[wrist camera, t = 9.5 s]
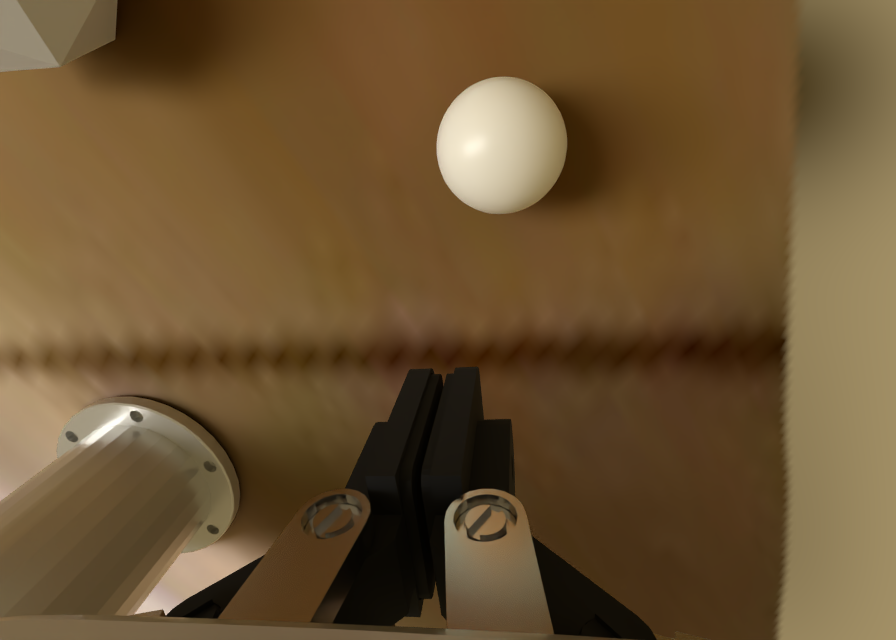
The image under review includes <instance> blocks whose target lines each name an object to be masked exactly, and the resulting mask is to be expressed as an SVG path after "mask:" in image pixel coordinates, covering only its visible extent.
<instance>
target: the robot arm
mask: <svg viewBox="0 0 896 640" xmlns="http://www.w3.org/2000/svg"><path fill="white" fill-rule="evenodd" d="M239 502H240V489H239V481H238V478H237V475H236V472H235V469H234V466H233V464H232V463H231V461H230V459H229V457H228V456H227V454H226V452H225V451H224V449H223V448H222V447H221V446H220V444H219V443H218V442H217V441H216V439H215V438H214V437H213V436H212V435H211V434H210V433H209V432H207V431H206V430H205V429H204V428H203V427H202V426H201V425H200V424H198V423H197V422H195V421H194V420H193V419H191V418H190V417H188V416H187V415H185V414H184V413H182V412H180V411H178V410H176V409H174V408H172V407H170V406H168V405H165V404H162V403H159V402H156V401H153V400H150V399H144V398H138V397H132V396H127V397H111V398H106V399H102V400H99V401H97V402H95V403H92V404H90V405H88V406H87V407H85V408H84V409H82V410H81V411H80V412H78V413H77V414H75V415H74V416H72V417H71V419H70V420H69V421H68V422H67V423H66V424H65V425H64V427H63V429H62V431H61V433H60V436H59V438H58V444H57V459H56V460H55V461H53V462H52V463H51V464H49V465H48V466H47V467H45V468H44V469H43V470H41V471H40V472H39V473H37V474H36V475H35V476H33V477H32V478H31V479H29V480H28V481H27V482H25V483H24V484H23V485H21V486H20V487H19V488H17V489H16V490H15V491H13V492H12V493H11V494H9V495H8V496H7V497H5V498H4V499H3V500H1V501H0V640H709V639H705V638H701V637H697V636H693V635H689V634H685V633H681V632H677V631H675V637H674V639H673V638H669V637H665V636H661V635H657V634H653V632H652V631H651V629H650V628H649V627H648V626H647V625H646V624H645V623H644V622H643V621H642V620H641V619H640V618H639V617H638V616H637V615H636V614H634V613H633V612H632V611H630V610H629V609H628V608H626V607H625V606H624V605H622V604H621V603H620V602H618V601H617V600H616V599H614V598H613V597H612V596H610V595H609V594H608V593H606V592H605V591H604V590H603V589H601V588H600V587H599V586H597V585H596V584H595V583H593V582H592V581H591V580H589V579H588V578H587V577H585V576H584V575H583V574H581V573H580V572H579V571H577V570H576V569H575V568H573V567H572V566H571V565H570V564H568V563H567V562H566V561H564V560H563V559H562V558H560V557H559V556H558V555H556V554H555V553H554V552H552V551H551V550H550V549H548V548H547V547H546V546H544V545H543V544H542V543H540V542H539V541H538V540H537V539H535V538H534V537H533V536H531V532H530V528H529V524H528V519H527V515H526V512H525V509H524V507H523V505H522V503H521V502H520V501H519V500H518V499H517V498H516V497H515V472H514V450H513V436H512V424H511V419H496V420H484V416H483V406H482V395H481V384H480V374H479V368H478V367H462V368H455V371H454V374H447V375H446V379H445V383H444V387H443V380H442V375H441V374H434V371H433V369H410V370H409V372H408V374H407V377H406V379H405V381H404V384H403V386H402V389H401V391H400V393H399V396H398V398H397V401H396V403H395V405H394V408H393V410H392V412H391V415H390V417H389V420H388V422H377V423H375V425H374V426H373V429H372V431H371V433H370V435H369V437H368V439H367V442H366V444H365V446H364V448H363V450H362V453H361V455H360V457H359V459H358V461H357V464H356V466H355V468H354V470H353V472H352V474H351V477H350V479H349V481H348V483H347V485H346V488H345V489H335V490H331V491H326V492H324V493H322V494H319V495H317V496H315V497H313V498H312V499H310V500H309V501H307V502H306V503H305V504H304V505H303V506H302V507H301V508H300V509H299V510H298V511H297V513H296V514H295V515H294V517H293V518H292V519H291V521H290V522H289V523H288V525H287V526H286V527H285V529H284V530H283V531H282V533H281V534H280V536H279V537H278V538H277V540H276V541H275V542H274V544H273V545H272V546H271V548H270V549H269V550H268V552H267V553H266V554H265V555H264V556H262V557H260V558H258V559H257V560H255V561H253V562H251V563H250V564H248V565H246V566H244V567H242V568H241V569H239V570H237V571H235V572H234V573H232V574H230V575H228V576H227V577H225V578H223V579H221V580H220V581H218V582H216V583H214V584H212V585H211V586H209V587H207V588H205V589H204V590H202V591H200V592H198V593H197V594H195V595H193V596H191V597H190V598H188V599H186V600H185V601H183V602H182V603H180V604H179V605H177V606H176V607H175V608H173V609H172V610H171V611H170V612H169V613H168V614H167V615H165V613H164V611H163V610H157V611H151V612H146V613H140V614H135V612H136V611H137V610H138V608H139V607H140V606H141V605H142V603H143V602H144V601H145V599H146V598H147V597H148V595H149V594H150V593H151V591H152V590H153V589H154V587H155V586H156V585H157V584H158V582H159V581H160V580H161V578H162V577H163V576H164V574H165V573H166V572H167V570H168V569H169V568H170V566H171V565H172V564H173V563H174V561H175V560H176V559H177V557H178V556H179V555H180V553H187V552H194V551H197V550H200V549H203V548H206V547H208V546H209V545H211V544H213V543H214V542H216V541H217V540H218V539H219V538H220V537H221V536H222V535H223V534H224V533H225V532H226V531H227V529H228V528H229V526H230V525H231V523H232V522H233V520H234V519H235V516H236V514H237V511H238V508H239ZM435 582H436V585H437V591H438V597H439V602H440V608H441V615H442V616H443V617H444V618H445V619H446V621H447V629H438V628H418V627H396V626H395V623H397V622H398V621H399V620H401V619H402V618H403V617H405V616H406V617H420V616H421V611H422V605H423V600H424V599H432V597H433V593H434V587H435ZM134 614H135V615H134Z"/></svg>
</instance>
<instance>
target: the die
mask: <svg viewBox="0 0 896 640" xmlns="http://www.w3.org/2000/svg"><path fill="white" fill-rule="evenodd" d="M116 18H117V0H0V72H4V71H16V70H28V69H40V68H53V67H61V66H63V65H65V64H67V63H69V62H71V61H73V60H75V59H77V58H79V57H81V56H83V55H85V54H87V53H89V52H91V51H93V50H95V49H97V48H99V47H101V46H103V45H105V44H107V43H109V42H111V41H113V40H115V36H116Z"/></svg>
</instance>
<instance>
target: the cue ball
mask: <svg viewBox="0 0 896 640" xmlns="http://www.w3.org/2000/svg"><path fill="white" fill-rule="evenodd" d="M566 152H567V133H566V128H565V124H564V120H563V118H562V115H561V113H560V111H559V109H558V108H557V106H556V104H555V103H554V101H553V100H552V99H551V98H550V97H549V95H547V94H546V93H545V92H544V91H543V90H542V89H540V88H539V87H537V86H536V85H534V84H532V83H530V82H528V81H526V80H523V79H519V78H514V77H494V78H489V79H486V80H482V81H480V82H478V83H476V84H473V85H472V86H470V87H469V88H467V89H466V90H464V91H463V92H462V93H461V94H460V95H459V96H458V97H457V98H456V99H455V100H454V101H453V102H452V104H451V105H450V106H449V108H448V109H447V111H446V113H445V115H444V117H443V119H442V122H441V125H440V128H439V132H438V137H437V158H438V164H439V167H440V171H441V173H442V176H443V178H444V180H445V182H446V184H447V185H448V187H449V188H450V189H451V191H452V192H453V193H454V194H455V195H456V196H457V197H458V198H459V199H460V200H461V201H462V202H464V203H465V204H467V205H469V206H470V207H472V208H474V209H476V210H479V211H482V212H486V213H492V214H507V213H514V212H517V211H521V210H523V209H525V208H528V207H530V206H531V205H533V204H535V203H536V202H538V201H539V200H540V199H541V198H543V197H544V196H545V195H546V194H547V193H548V192H549V190H550V189H551V188H552V187H553V185H554V184H555V182H556V181H557V179H558V177H559V176H560V174H561V171H562V169H563V166H564V162H565V158H566Z"/></svg>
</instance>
